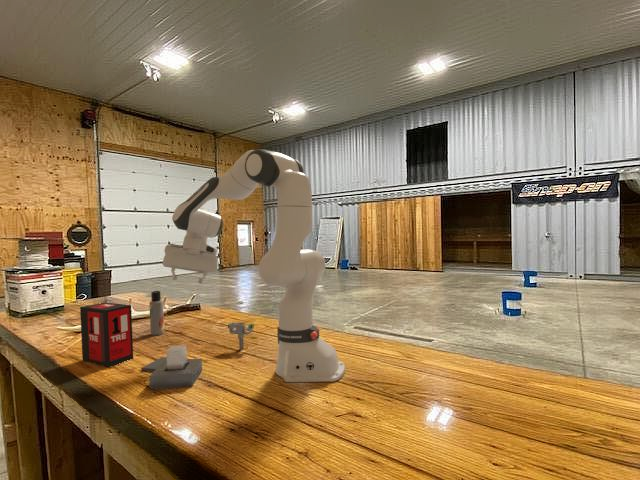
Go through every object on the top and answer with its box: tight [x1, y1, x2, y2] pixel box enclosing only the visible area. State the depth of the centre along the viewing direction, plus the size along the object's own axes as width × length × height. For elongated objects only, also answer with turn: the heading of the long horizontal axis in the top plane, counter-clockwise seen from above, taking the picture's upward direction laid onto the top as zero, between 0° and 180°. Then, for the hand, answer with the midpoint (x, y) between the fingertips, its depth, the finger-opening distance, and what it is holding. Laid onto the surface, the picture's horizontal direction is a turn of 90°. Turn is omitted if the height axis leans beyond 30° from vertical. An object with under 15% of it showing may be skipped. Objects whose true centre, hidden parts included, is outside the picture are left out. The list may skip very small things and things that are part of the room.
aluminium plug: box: [166, 344, 188, 371], centre depth 105 cm, size 4×4×10 cm
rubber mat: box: [140, 356, 167, 373], centre depth 116 cm, size 10×10×1 cm
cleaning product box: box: [79, 301, 134, 368], centre depth 124 cm, size 16×9×20 cm, turn 62°
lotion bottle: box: [148, 290, 165, 336], centre depth 156 cm, size 6×6×20 cm
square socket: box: [149, 357, 203, 391], centre depth 105 cm, size 12×12×4 cm
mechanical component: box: [227, 322, 255, 351], centre depth 131 cm, size 3×10×10 cm, turn 79°
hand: (187, 281), depth 130 cm, fingers open, 8 cm apart
